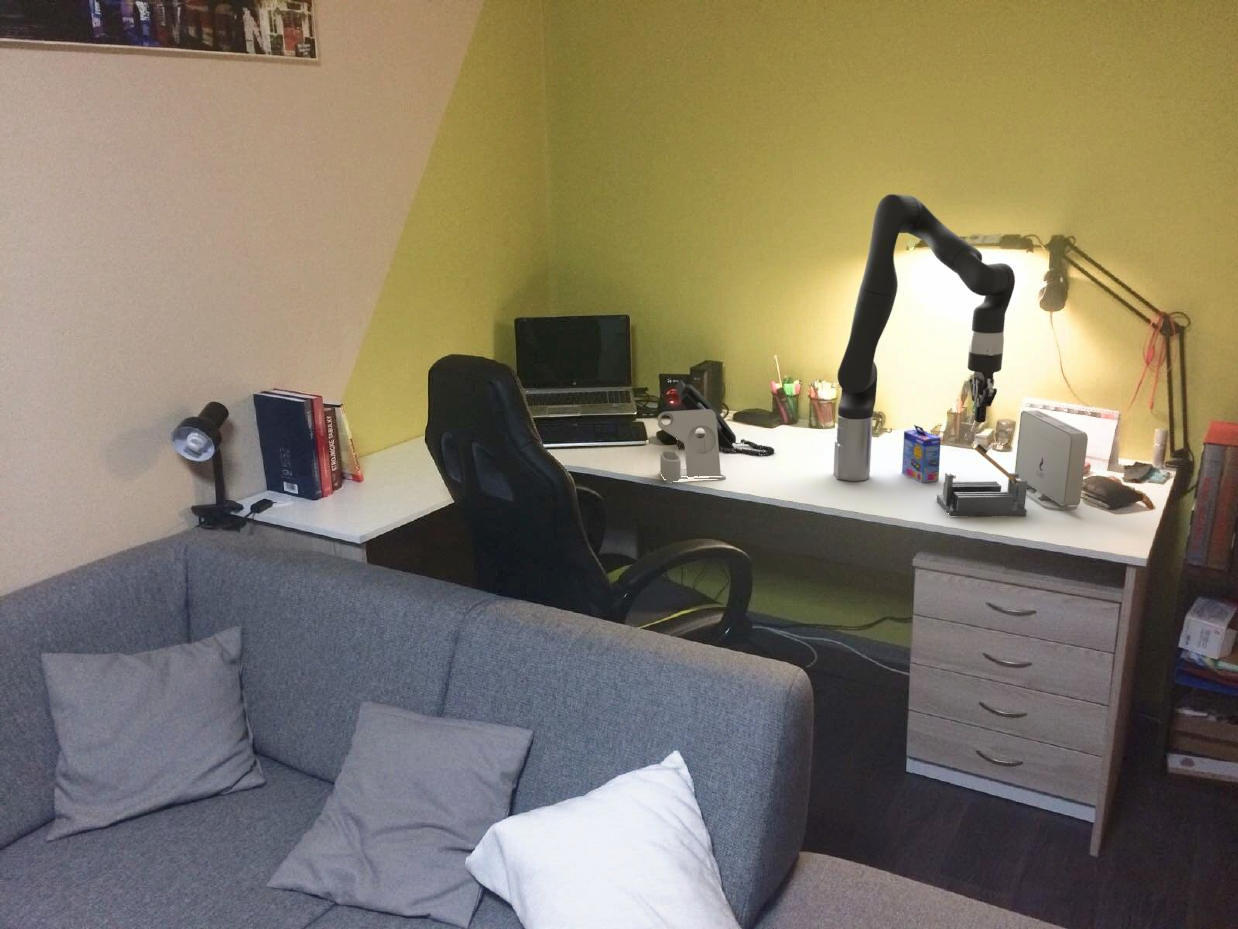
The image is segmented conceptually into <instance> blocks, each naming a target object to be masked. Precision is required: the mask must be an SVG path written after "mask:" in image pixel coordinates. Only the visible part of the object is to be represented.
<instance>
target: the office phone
mask: <svg viewBox="0 0 1238 929" xmlns="http://www.w3.org/2000/svg"><path fill="white" fill-rule="evenodd" d="M674 387H675V389H676V392H677V395H678V398H679V400H680V402H681V403H682V404H683V406H684V407H685V410H703V409H711V410H713V411H714V412H715V414H716V419H717V433H718V446H719V452H722V453H725V454H729V453H730V454H746V455H748V454H749V455H751V456H758V457H759V456H760V457H761V456H765V457H766V456H771V455H774V454H775V448H773V447H772V446H768V445H762V444H757V443H755V442H753V441H750V440H746V439H745V438H743V439H742V438H741V439H740V442H737V438H736V437H737V436H736V434H735V433H734V432H733V430H732V428H730V426H729V424H728V423H727V422H726V420H725V419H724V417H723V416H722V415H721V414H720V412H718V410H717V409H716V408H715V407H714V406H713V405H712V404H711V403H710V402H709V401H708V400H707V399H706V398H705V397H704V396H703V395H702V394H701V393H700V392H699V391H698V390H697V389H696V388H695V387H694V386H693V385H692V384H685V383H684V382H683V380H681V379H680V380H679V381H678V382H677V384H676V385H675V386H674ZM682 444H683V442H682V441H680V440H678V443H676V447H677V446H678V447H677V449H678V450H679V449H680V447H681V446H682ZM733 444H735V445H741V444H742V445H747V446H749V447H751V448H752V449H748V448H747V449H745V448H740V447H739V448H738V447H736V448H735V447H734V445H733ZM755 449H756V450H755Z"/></svg>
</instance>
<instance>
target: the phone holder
mask: <svg viewBox="0 0 1238 929" xmlns="http://www.w3.org/2000/svg"><path fill="white" fill-rule="evenodd" d="M664 416H668V417H669V418H670V422H669V423H668V424H664V423H663V422H662V417H664ZM657 425H658V428H659V429H660V430H662V431H664V432H665V433H667V434H669V435H670V436H672V437H673V438H674V439H675V438H677V439H678V440H680V441H682V444H683V445H684V454H685V455H684V456H685V458H684V459H685V467H686V468H682V467H681V464H682V463H681V462H682V461H681V460H682V459H681V457H680V456H679V455H678V454H677V452H676V451H671V450H667V451H666V450H664V451H662V452H660V453H659V454H660V455H659V456H660V457H659V458H660V463H659V464H660V471H659V473H660V472H661V474H662V476H663V477H664V479H666V480H665V481H666V482H665V481H664V482H665V483H666V484H671V483H670V482H673V481H678V480H679V479H688V478H687V477H681V476H688V477H694V476H698V477H699V476H722V477H709V478H694V479H724V478H726V477H727V476H726V474H725V473H724V472H723V471H722V469H721V460H720V451H719V449H720V445H719V444H718V433H717V419H716V414H715V412H714V411H713V410H711V409H703V410H686V409H684V410H673V411H671V410H670V411H663V412H661V413H660V414H658V417H657ZM698 429H702V430H703V431H704V436H702V437H701V438H700V437H698V436H697V435H696V431H697V430H698ZM726 479H727V478H726ZM724 480H725V479H724Z"/></svg>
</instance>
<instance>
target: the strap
mask: <svg viewBox="0 0 1238 929" xmlns="http://www.w3.org/2000/svg"><path fill="white" fill-rule="evenodd" d="M970 446H971V447H972V449H974V450H975V451H976V452H977V453H978V454H980V455H981V456H982V457H983V458H984V459H985V460H987V461H988V462H989V463H991V464H992V465H993V466H994V467H995V468H996V469H998V471H1000V472H1001V473H1002V474H1003V475H1005V477H1007V478H1008V479H1010V480H1011V483H1012V484H1014V485H1015V486H1016V487H1017V481H1018V480H1020V479H1019V478H1017V477H1013V476H1012V475H1010V474H1009V473H1010V472H1008V471H1007V470H1005V468H1004V467H1002V466H1001V465H1000V464H999V463H998V462H996V461H995V460H994V459H993V458H992V457H991V456H989V455H988V454H987V453H988V450H987V449H986V448H985V447H983V445H982V444H980V443H979V442H977V441H976V440H974V441H973V442H971V443H970Z"/></svg>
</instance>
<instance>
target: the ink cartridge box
mask: <svg viewBox="0 0 1238 929" xmlns="http://www.w3.org/2000/svg"><path fill="white" fill-rule="evenodd" d="M913 426H914V429H908V430H904V431H903V446H902V449H903V450H902V463H901V464H902V465H901V467H902V468H901V473H902V474H904V475H905V476H908V477H909V476H910V477H909V478H912V479H914V480H915V479H916V480H915V481H917V480H918V482H919V483H931V482H938V481H939V477H940V459H941V458H940V457H941V441H942V440H941V437H940V436H938V435H935V434H932V433H929V432H928V431H925V430H924V428H923V427H921V426H918V425H916V424H914V425H913Z"/></svg>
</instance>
